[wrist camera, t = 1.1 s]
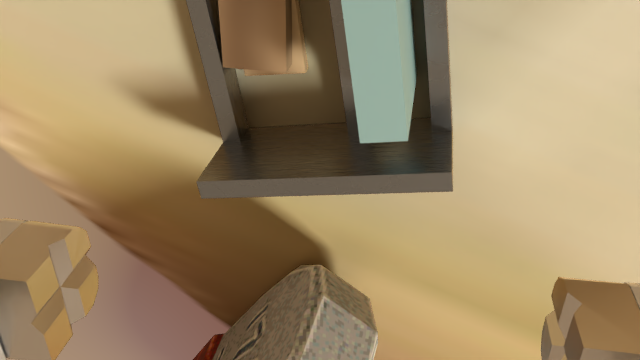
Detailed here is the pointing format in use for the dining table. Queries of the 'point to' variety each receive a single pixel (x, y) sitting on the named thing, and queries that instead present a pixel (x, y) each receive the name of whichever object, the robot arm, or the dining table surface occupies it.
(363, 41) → the teal sheet
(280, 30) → the offcut walnut
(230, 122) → the offcut rack
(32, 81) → the dining table surface
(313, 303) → the decorative stone tablet
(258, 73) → the offcut oak
